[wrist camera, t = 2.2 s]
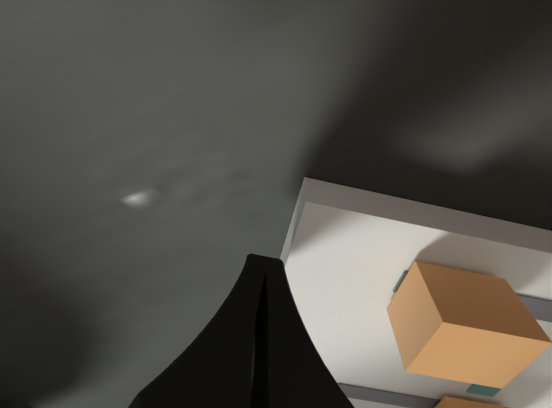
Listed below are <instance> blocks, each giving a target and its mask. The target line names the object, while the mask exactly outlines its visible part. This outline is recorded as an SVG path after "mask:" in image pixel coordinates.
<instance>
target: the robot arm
mask: <svg viewBox="0 0 552 408" xmlns="http://www.w3.org/2000/svg"><path fill="white" fill-rule="evenodd" d="M128 408H355V407H354V406H353V405H352V403H351V402H350V401H349V399H348V398H347V396H346V395H345V394H344V392H343V391H342V390H341V388H340V387H339V385H338V383H337V382H336V380H335V379H334V377H333V376H332V374H331V373H330V371H329V370H328V368H327V367H326V365H325V363H324V362H323V360H322V358H321V356H320V355H319V353H318V351H317V349H316V347H315V346H314V344H313V342H312V340H311V338H310V336H309V334H308V332H307V330H306V328H305V325H304V323H303V321H302V318H301V316H300V314H299V311H298V309H297V306H296V303H295V301H294V298H293V295H292V292H291V289H290V286H289V283H288V280H287V276H286V272H285V267H284V262H283V261H282V260H281V259H276V258H271V257H265V256H260V255H255V254H249V255H247V259H246V262H245V265H244V268H243V270H242V272H241V274H240V276H239V278H238V280H237V282H236V284H235V285H234V287H233V289H232V290H231V292H230V294H229V295H228V297H227V298H226V300H225V301H224V303H223V304H222V306H221V307H220V309H219V310H218V311H217V313H216V314H215V315H214V317H213V318H212V319H211V321H210V322H209V323H208V324H207V326H206V327H205V328H204V329H203V331H202V332H201V333H200V334H199V335H198V336H197V337H196V339H195V340H194V341H193V342H192V343H191V344H190V345H189V346H188V347H187V348H186V350H185V351H184V352H183V353H182V354H181V355H180V356H179V357H178V358H177V359H176V360H174V361H173V362H172V363H171V364H170V365H169V366H168V367H167V368H166V369H165V370H164V371H163V372H162V373H161V374H160V375H159V376H158V377H156V378H155V379H154V380H153V381H152V382H151V383H150V384H148V385H147V386H146V387H145V388H144V389H143V390H141V391H140V392H139V393H138V394H137V396H136V397H135V398H134V400H133V401H132V403H131V404H130V405H129V407H128Z"/></svg>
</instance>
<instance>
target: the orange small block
mask: <svg viewBox="0 0 552 408" xmlns="http://www.w3.org/2000/svg"><path fill="white" fill-rule="evenodd" d="M386 309H387V313H388V316H389V319H390V323H391V326H392V330H393V333H394V336H395V340H396V343H397V346H398V350H399V353H400V357H401V360H402V363H403V367H404V370H405V372H408V373H414V374H420V375H426V376H432V377H437V378H443V379H449V380H455V381H460V382H466V383H472V384H478V385H483V386H489V387H495V388H501V389H502V388H503V387H504V386H506V385H507V384H508V383H509V382H510V381H511V380H512V379H513V378H514V377H516V376H517V375H518V374H519V373H520V372H521V371H522V370H523V369H524V368H525V367H527V366H528V365H529V364H530V363H531V362H532V361H533V360H534V359H535V358H537V357H538V356H539V355H540V354H541V353H542V352H543V351H544V350H545V349H546V348H548V347H549V346H550V345H551V344H552V341H551V340H550V338H549V337H548V336H547V334H546V333H545V332H544V330H543V329H542V328H541V326H540V325H539V324H538V322H537V321H536V320H535V318H534V317H533V316H532V314H531V313H530V312H529V310H528V309H527V308H526V306H525V305H524V304H523V302H522V301H521V300H520V298H519V297H518V295H517V294H516V293H515V291H514V290H513V289H512V287H511V286H510V285H509V283H508V282H507V281H506V279H503V278H498V277H493V276H488V275H483V274H478V273H473V272H468V271H463V270H458V269H453V268H448V267H443V266H439V265H434V264H429V263H424V262H419V261H415V262H414V263H413V265H412V267H411V268H410V270H409V272H408V273H407V275H406V277H405V278H404V280H403V282H402V283H401V285H400V287H399V288H398V290H397V292H396V293H395V295H394V297H393V298H392V300H391V302H390V303H389V305H388V307H387V308H386Z"/></svg>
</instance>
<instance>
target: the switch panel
mask: <svg viewBox="0 0 552 408" xmlns="http://www.w3.org/2000/svg"><path fill="white" fill-rule="evenodd" d="M280 259H281V260H282V261H283V262H284V267H285V272H286V276H287V280H288V283H289V286H290V289H291V292H292V295H293V298H294V301H295V303H296V306H297V309H298V311H299V314H300V316H301V318H302V321H303V323H304V325H305V328H306V330H307V332H308V334H309V336H310V338H311V340H312V342H313V344H314V346H315V347H316V349H317V351H318V353H319V355H320V356H321V358H322V360H323V362H324V363H325V365H326V367H327V368H328V370H329V371H330V373H331V374H332V376H333V377H334V379H335V380H336V382H337V383H338V385H339V387H340V388H341V390H342V391H343V392H344V394H345V395H346V396H347V398H348V399H349V401H350V402H351V403H352V405H353V406H354V407H355V408H435V406H436V405H437V404H438V403H439V402H440V401H441V400H442V399H443V398H444V397H445V396H446V397H452V398H458V399H464V400H470V401H476V402H482V403H488V404H493V405H499V406H505V407H510V408H552V344H551V345H550V346H549V347H548V348H546V349H545V350H544V351H543V352H542V353H541V354H540V355H539V356H538V357H537V358H535V359H534V360H533V361H532V362H531V363H530V364H529V365H528V366H527V367H525V368H524V369H523V370H522V371H521V372H520V373H519V374H518V375H517V376H516V377H514V378H513V379H512V380H511V381H510V382H509V383H508V384H507V385H506V386H504V387H503V388H502V389H501V388H495V387H489V386H483V385H478V384H472V383H466V382H460V381H455V380H449V379H443V378H437V377H432V376H426V375H420V374H414V373H408V372H405V370H404V367H403V363H402V360H401V357H400V353H399V350H398V346H397V343H396V340H395V336H394V333H393V330H392V326H391V323H390V319H389V316H388V313H387V309H386V308H387V307H388V305H389V303H390V302H391V300H392V298H393V297H394V295H395V293H396V292H397V290H398V288H399V287H400V285H401V283H402V282H403V280H404V278H405V277H406V275H407V273H408V272H409V270H410V268H411V267H412V265H413V263H414V262H415V261H419V262H424V263H429V264H434V265H439V266H443V267H448V268H453V269H458V270H463V271H468V272H473V273H478V274H483V275H488V276H493V277H498V278H503V279H506V281H507V282H508V283H509V285H510V286H511V287H512V289H513V290H514V291H515V293H516V294H517V295H518V297H519V298H520V300H521V301H522V302H523V304H524V305H525V306H526V308H527V309H528V310H529V312H530V313H531V314H532V316H533V317H534V318H535V320H536V321H537V322H538V324H539V325H540V326H541V328H542V329H543V330H544V332H545V333H546V334H547V336H548V337H549V338H550V340H551V341H552V231H550V230H546V229H541V228H537V227H532V226H527V225H523V224H518V223H514V222H509V221H504V220H500V219H495V218H491V217H486V216H481V215H477V214H472V213H468V212H463V211H458V210H454V209H449V208H445V207H440V206H435V205H431V204H426V203H422V202H417V201H412V200H408V199H403V198H399V197H394V196H389V195H385V194H380V193H376V192H371V191H366V190H362V189H357V188H353V187H348V186H343V185H339V184H334V183H330V182H325V181H320V180H316V179H311V178H307V177H304V180H303V183H302V187H301V190H300V193H299V197H298V200H297V203H296V207H295V210H294V213H293V216H292V220H291V223H290V226H289V230H288V233H287V236H286V240H285V243H284V246H283V250H282V253H281V256H280Z"/></svg>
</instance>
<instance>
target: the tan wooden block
mask: <svg viewBox="0 0 552 408" xmlns="http://www.w3.org/2000/svg"><path fill="white" fill-rule="evenodd" d="M435 408H510V407H505V406H499V405H493V404H488V403H482V402H476V401H470V400H464V399H458V398H452V397H446V396H445V397H444V398H443V399H442V400H441V401H440V402H439V403H438V404H437V405H436V406H435Z"/></svg>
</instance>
